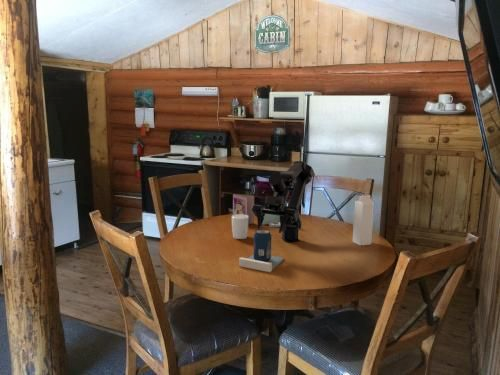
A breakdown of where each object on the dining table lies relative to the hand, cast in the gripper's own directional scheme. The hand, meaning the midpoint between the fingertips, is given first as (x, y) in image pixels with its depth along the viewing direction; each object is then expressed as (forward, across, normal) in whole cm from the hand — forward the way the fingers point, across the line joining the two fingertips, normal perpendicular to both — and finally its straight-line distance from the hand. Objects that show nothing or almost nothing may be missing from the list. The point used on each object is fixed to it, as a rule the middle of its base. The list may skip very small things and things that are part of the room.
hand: (268, 231), depth 166 cm
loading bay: (+12, 0, +4) cm, 12 cm away
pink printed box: (-20, -31, +37) cm, 52 cm away
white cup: (-5, -23, +22) cm, 32 cm away
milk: (-17, +30, +34) cm, 49 cm away
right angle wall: (-22, -14, +40) cm, 47 cm away
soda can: (+11, 0, +4) cm, 12 cm away
